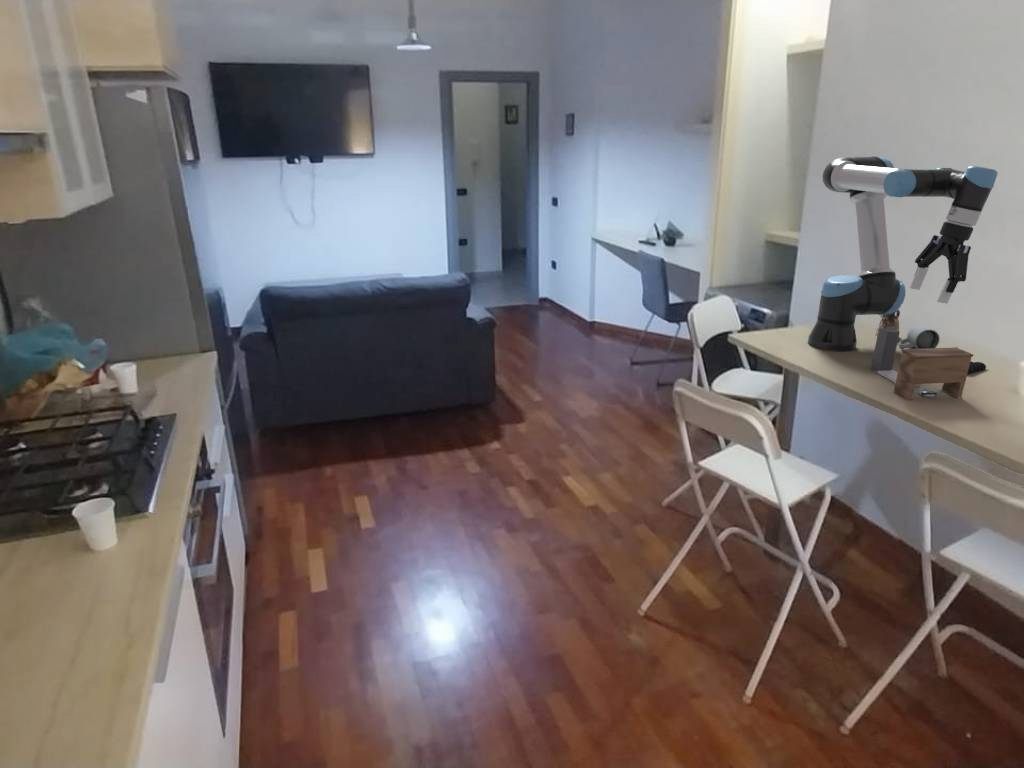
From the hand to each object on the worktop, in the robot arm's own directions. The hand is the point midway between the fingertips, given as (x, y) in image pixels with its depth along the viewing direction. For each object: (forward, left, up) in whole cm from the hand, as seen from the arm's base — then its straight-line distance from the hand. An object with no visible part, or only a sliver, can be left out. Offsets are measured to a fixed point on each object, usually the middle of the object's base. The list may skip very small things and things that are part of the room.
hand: (927, 295), depth 199 cm
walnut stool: (+19, -9, -24) cm, 31 cm away
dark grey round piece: (+19, -9, -24) cm, 32 cm away
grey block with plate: (+4, -9, -24) cm, 26 cm away
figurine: (-37, +17, -24) cm, 47 cm away
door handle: (-7, +18, -24) cm, 31 cm away
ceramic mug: (-22, +18, -24) cm, 37 cm away
